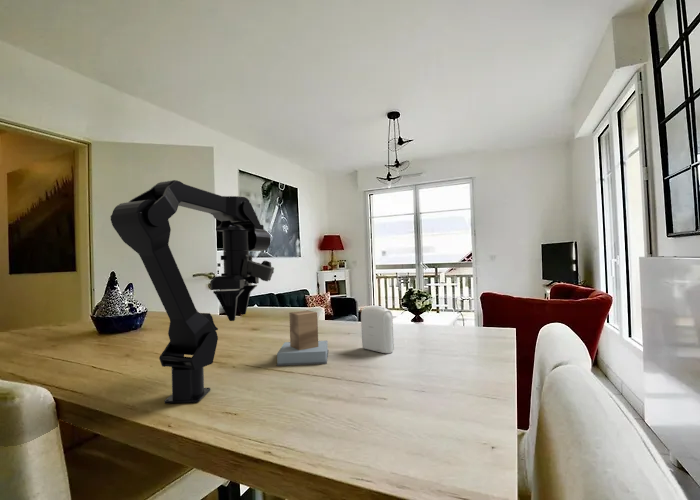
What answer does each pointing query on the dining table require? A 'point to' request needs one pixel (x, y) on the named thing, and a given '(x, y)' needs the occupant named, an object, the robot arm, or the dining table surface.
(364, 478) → the dining table surface
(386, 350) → the photo printer
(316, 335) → the walnut block
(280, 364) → the plinth
